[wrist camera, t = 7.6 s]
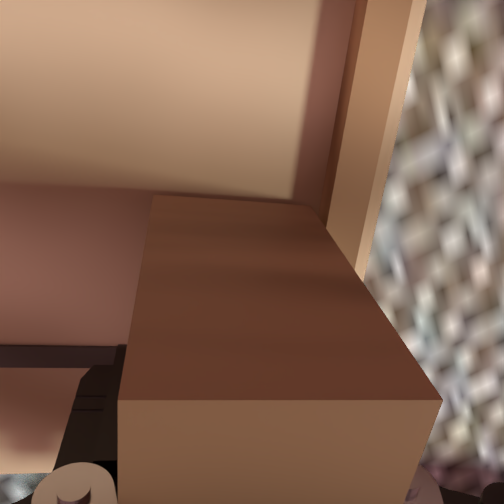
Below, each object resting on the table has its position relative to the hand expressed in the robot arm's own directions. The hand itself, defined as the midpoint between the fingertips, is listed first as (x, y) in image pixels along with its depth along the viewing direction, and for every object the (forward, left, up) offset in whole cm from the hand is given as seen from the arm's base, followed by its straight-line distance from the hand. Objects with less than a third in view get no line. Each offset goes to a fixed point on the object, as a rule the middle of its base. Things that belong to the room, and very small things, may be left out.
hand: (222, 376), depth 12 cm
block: (0, 0, -2) cm, 2 cm away
